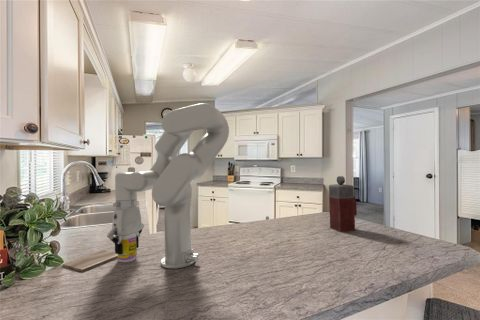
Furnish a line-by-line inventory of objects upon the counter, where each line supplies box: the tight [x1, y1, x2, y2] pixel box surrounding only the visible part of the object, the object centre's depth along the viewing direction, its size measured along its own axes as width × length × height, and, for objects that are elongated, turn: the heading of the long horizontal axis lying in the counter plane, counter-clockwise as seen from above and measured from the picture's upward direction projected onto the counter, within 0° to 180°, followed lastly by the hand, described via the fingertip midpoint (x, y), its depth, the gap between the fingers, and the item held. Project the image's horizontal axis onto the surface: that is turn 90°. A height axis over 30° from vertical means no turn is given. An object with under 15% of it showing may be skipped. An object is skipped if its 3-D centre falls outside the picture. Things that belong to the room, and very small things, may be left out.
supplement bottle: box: [117, 233, 138, 263], centre depth 94 cm, size 7×7×13 cm
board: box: [62, 249, 118, 273], centre depth 94 cm, size 12×16×1 cm
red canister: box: [328, 175, 358, 233], centre depth 130 cm, size 9×11×28 cm
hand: (127, 250), depth 94 cm, fingers closed on supplement bottle, 6 cm apart
